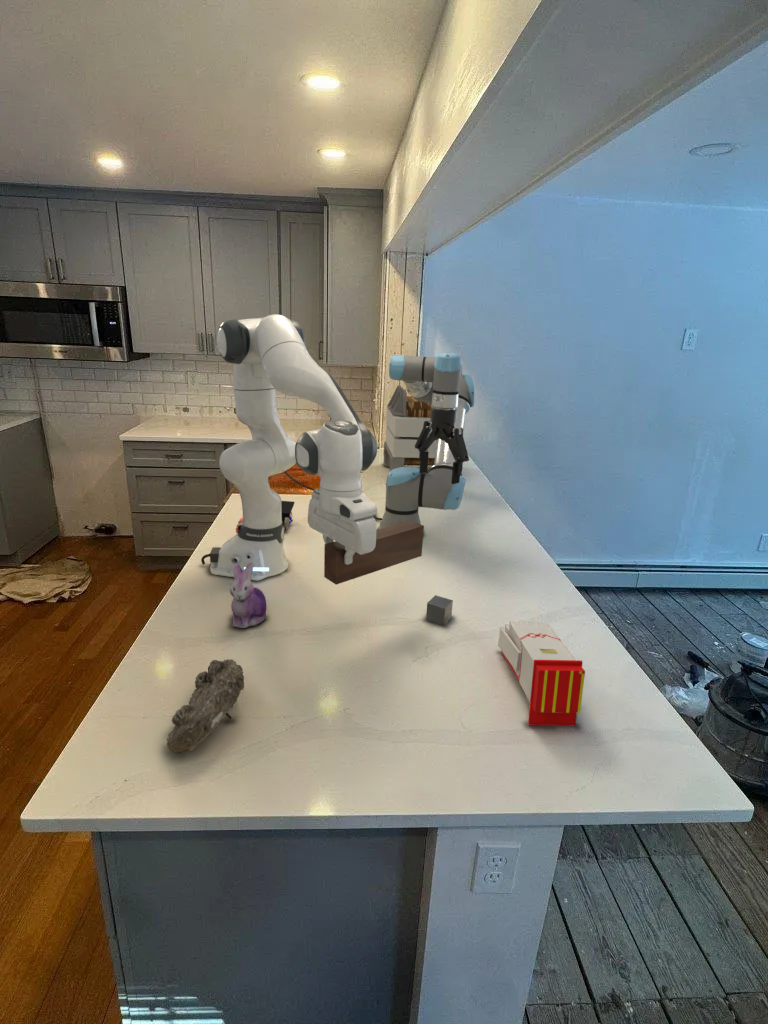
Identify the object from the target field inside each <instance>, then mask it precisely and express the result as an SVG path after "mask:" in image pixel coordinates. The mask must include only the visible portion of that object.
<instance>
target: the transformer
mask: <svg viewBox="0 0 768 1024" xmlns="http://www.w3.org/2000/svg"><path fill="white" fill-rule="evenodd" d="M407 394H408V392H407V389H404V388H403V387H402V385H399V384H398V385H397V386H396V388H395V390H394V392H393V394H392V395H391V398H390V400H389V402H388V404H387V405H386V413H385V414H386V415H385V423H386V428H385V438H384V442H383V466H384V467H388V468H389V472H390V471H391V470H393V469H396V468H400V467H405V466H406V467H417V466H418V467H420V461H419V453H420V452H419V450H418V449H416V448H415V444H416V442H417V440H418V438H419V436H420V433H421V431H422V429H423V425H424V421H430V420H431V409H432V408H434V407H433V406H432V404H428V403H424V402H421V401H419V400H417V399H415V398H414V397H412V396H411V395H407ZM431 421H432V420H431ZM464 422H465V419H464ZM464 429H465V423H464V424H463V433H464V431H465V430H464ZM431 432H432V428H431V431H430V433H431ZM430 433H429V434H430ZM428 437H429V435H428ZM428 437H427V438H428ZM436 446H437V439H436V440H435V441H434V442H433V443H432V444H431V446H430V447H429V448H428V451H427V452H429V454H428V467H432V466H434V461H435V453H436Z"/></svg>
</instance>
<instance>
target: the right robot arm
mask: <svg viewBox="0 0 768 1024" xmlns="http://www.w3.org/2000/svg"><path fill="white" fill-rule="evenodd" d="M388 376H389V379H390V380H392V381H398V382H400V381H402V382H403V384H404V385H405V390H406V393H407V394H409V396H412V397H414V398H415V399H417V400H419V401H421V402H424V403H428V404H432V406H433V407H434V408H432V409H431V420H432V421H431V420H430V421H424V425H423V429H422V431H421V433H420V436H419V438H418V440H417V442H416V444H415V448H416V449H418V450H419V452H420V453H419V461H420V466H419V467H417V466H404V467H400V468H396V469H393V470H391V471H390V470H389V472H388V473H387V475H386V482H385V504H384V505H385V507H384V508H385V509H384V513H383V515H382V517H378V516H376V515H373V517H374V518H375V521H381V522H379V526H378V529H382V528H385V527H389V526H393V525H396V524H400V523H403V522H407V521H411V520H412V521H414V522H416V523H418V524H421V518H420V515H419V508H428V509H437V510H443V511H448V510H449V511H456V510H458V509H459V508H460V506H461V503H462V500H463V496H464V493H465V492H464V491H465V486H466V477H465V476H463V465H464V463H465V462H469V461H470V457H469V453H468V449H467V445H466V442H465V438H464V432H463V424H464V425H465V421H464V420H465V416H466V414H467V413H469V411H470V409H471V408H474V407H475V380H474V377H473V375H471V374H464V373H463V365H462V356H461V354H459V353H452V352H439V353H437V354H435V356H418V355H404V354H394V355H392V356H391V357H390V358H389V363H388ZM431 428H432V432H431V433H430V431H431ZM429 433H430V434H429ZM428 435H429V437H428ZM427 437H428V438H427ZM436 439H437V446H436V453H435V461H434V466H432V465H431V466H429V465H428V454H429V452H427V451H428V448H429V447H430V446H431V444H432V443H433V442H434V441H435V440H436ZM428 467H429V468H428ZM283 473H284V474H285V475H286V476H287V477H288V478H289V479H290V480H291V481H293V482H294V483H296V484H297V485H300V486H301V487H304V488H306V489H308V490H311V491H312V492H313V491H314V490H315V489H316V488H313V487H310V486H309V485H306V484H303V483H302V482H300V481H299V480H296V479H295V478H293V477H292V476H291V475H290V474H289V473H288V472H287V470H286V471H284V472H283ZM421 525H422V524H421Z"/></svg>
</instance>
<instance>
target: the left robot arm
mask: <svg viewBox="0 0 768 1024" xmlns="http://www.w3.org/2000/svg"><path fill="white" fill-rule="evenodd" d="M305 337H306V336H305V332H304V329H303V327H302V326H301V324H300V322H298V321H297V320H294V319H291V318H288V317H286V316H284V315H282V314H277V313H276V314H274V313H273V314H269V315H266V316H264V317H258V318H243V319H229V320H225V321H223V322H221V324H220V325H219V326H218V329H217V335H216V346H217V349H218V352H219V354H220V357H221V358H222V359H223V360H224V361H225V362H227V363H229V364H232V365H233V369H232V382H233V383H232V384H233V395H234V396H233V397H234V405H235V415H236V417H237V420H238V421H239V422H240V423H241V424H243V425H245V426H247V427H248V430H249V431H250V434H251V440H248V441H243V442H242V441H241V442H238V443H235V444H234V445H231V446H230V447H228V448H227V449H224V450H223V451H222V452H221V454H220V455H219V461H218V462H219V470H220V473H221V474H222V476H223V478H225V480H227V482H230V483H231V484H233V486H234V487H235V488H236V490H237V491H238V493H239V497H240V500H241V509H242V510H241V511H242V517H241V518H240V519H239V520H238V522H237V525H236V528H235V533H236V534H234V535H233V536H232V537H230V538H229V539H228V540H226V541H225V542H224V543H223V544H222V546H221V547H216V546H215V547H212V548H211V550H210V552H209V553H208V554H204V555H202V557H201V558H200V559H201V565H203V566H204V565H206V562H205V559H206V558H209V562H210V569H209V570H210V573H211V574H212V575H214V576H223V577H229V578H234V567H235V565H236V564H239V565H240V567H241V569H242V571H244V569H245V568H246V567H247V565H248V564H249V563H253V572H252V575H251V579H250V580H251V581H257V582H258V581H262V580H263V579H266V578H269V577H273V576H277V575H279V574H282V573H284V572H285V571H286V570H287V569H288V568H289V563H288V560H287V556H286V553H285V546H284V540H285V539H284V538H285V532H284V529H285V528H284V527H283V521H282V508H281V501H282V497H281V496H280V494H279V493H278V492H276V491H275V490H273V489H271V487H270V483H269V477H271V476H275V475H279V474H282V473H284V471H286V472H287V471H288V470H290V468H292V467H293V466H295V465H297V467H299V468H300V470H302V471H303V472H304V473H305V474H307V475H311V476H319V477H320V478H319V479H320V480H319V488H314V489H315V490H314V491H313V490H312V492H311V498H310V499H309V502H308V509H307V511H308V512H307V523H308V527H309V528H311V529H312V530H314V531H316V532H318V533H319V534H322V540H323V542H324V545H325V544H327V543H331V542H335V541H336V542H338V543H340V544H342V545H344V546H345V550H346V554H345V555H342V562H343V563H345V564H347V565H348V564H351V563H352V561H353V555H354V553H355V552H356V553H358V554H360V555H362V554H366V553H369V552H372V551H373V550H374V548H375V546H376V530H377V520H376V519H375V518H374V517H373V515H375V516H376V515H377V513H378V506H377V505H376V503H374V502H373V501H372V500H371V498H369V497H368V496H367V495H366V493H365V492H364V491H363V489H362V487H363V484H362V480H361V479H362V478H361V472H365V471H366V470H368V469H369V468H370V467H371V465H372V464H373V463H374V462H375V460H376V457H377V455H378V445H377V444H378V443H377V440H376V438H375V436H374V434H373V433H372V432H371V431H370V429H369V428H368V427H367V426H366V425H365V424H364V423H363V422H362V420H361V419H360V417H359V416H358V414H357V412H356V410H355V409H354V407H353V406H352V404H351V403H350V401H349V399H348V398H347V396H346V394H345V393H344V392H343V390H342V388H341V387H340V384H339V383H338V382H337V381H336V379H335V378H334V376H333V375H332V374H330V373H329V372H328V371H326V370H324V369H323V368H322V367H321V366H320V365H319V364H318V363H317V362H316V361H315V360H314V359H313V357H312V356H311V355H310V353H309V352H308V349H307V346H306V345H305V344H306V339H305ZM277 391H278V392H280V393H281V394H284V395H286V396H290V397H294V398H300V399H303V400H307V401H310V402H313V403H315V404H317V405H319V406H321V407H322V408H323V409H324V410H325V411H326V412H327V414H328V416H329V417H330V419H329V420H327V421H325V422H324V423H323V424H322V426H321V427H320V428H317V429H313V430H308V431H304V432H302V433H301V434H300V435H299V437H298V439H296V442H295V440H293V439H292V438H291V437H290V436H289V435H288V434H287V433H286V432H285V430H284V427H283V426H282V423H281V420H280V416H279V412H278V401H277Z"/></svg>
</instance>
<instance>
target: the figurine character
mask: <svg viewBox="0 0 768 1024" xmlns="http://www.w3.org/2000/svg"><path fill="white" fill-rule="evenodd" d="M294 505H295V501H289V500H281V508H282V521H283V527H284V533H285V532H286V531H287V529H288V528H289V527H290V524H291V523H293V522H294V520H293V518H292V517H293V512H292V511H293V508H294Z"/></svg>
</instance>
